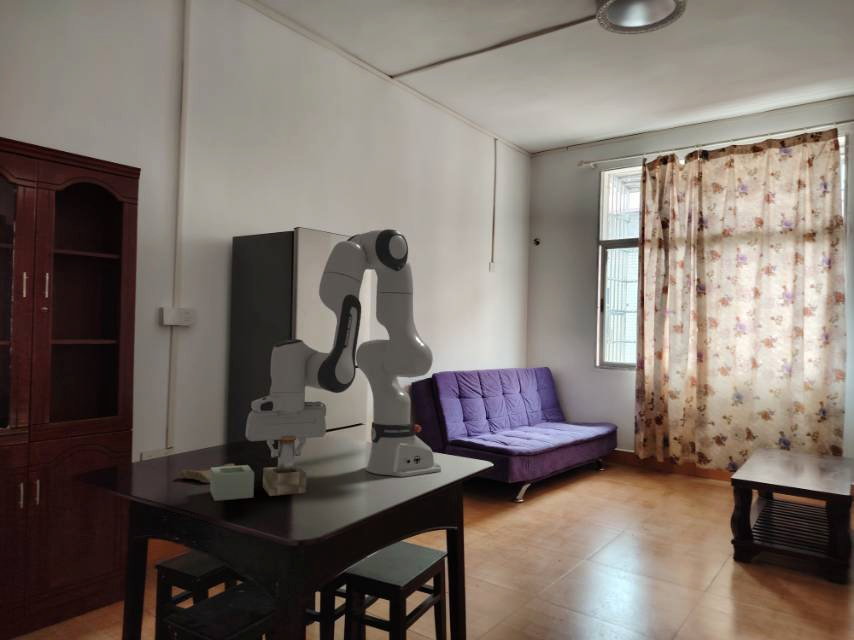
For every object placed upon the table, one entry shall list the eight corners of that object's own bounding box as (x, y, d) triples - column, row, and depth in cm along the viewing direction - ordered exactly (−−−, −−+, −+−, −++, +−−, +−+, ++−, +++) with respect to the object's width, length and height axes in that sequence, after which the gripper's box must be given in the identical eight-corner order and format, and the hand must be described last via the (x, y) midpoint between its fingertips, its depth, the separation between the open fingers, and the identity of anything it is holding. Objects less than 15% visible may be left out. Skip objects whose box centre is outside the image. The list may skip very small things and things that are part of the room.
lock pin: (292, 482, 161) (293, 433, 161) (297, 487, 157) (298, 436, 157) (273, 484, 159) (274, 434, 159) (277, 489, 154) (279, 437, 155)
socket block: (246, 488, 158) (247, 465, 158) (253, 497, 150) (254, 472, 150) (210, 491, 154) (210, 467, 154) (214, 500, 146) (215, 475, 146)
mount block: (297, 484, 163) (297, 465, 164) (305, 492, 155) (306, 472, 155) (262, 487, 159) (263, 467, 160) (269, 495, 151) (270, 475, 151)
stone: (176, 480, 166) (177, 468, 166) (229, 471, 178) (229, 460, 178) (195, 488, 159) (196, 475, 159) (249, 478, 170) (249, 466, 170)
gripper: (323, 399, 165) (321, 451, 165) (245, 402, 156) (243, 456, 156) (330, 402, 160) (328, 455, 160) (249, 405, 151) (248, 461, 151)
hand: (286, 456), depth 158 cm, fingers closed on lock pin, 4 cm apart
